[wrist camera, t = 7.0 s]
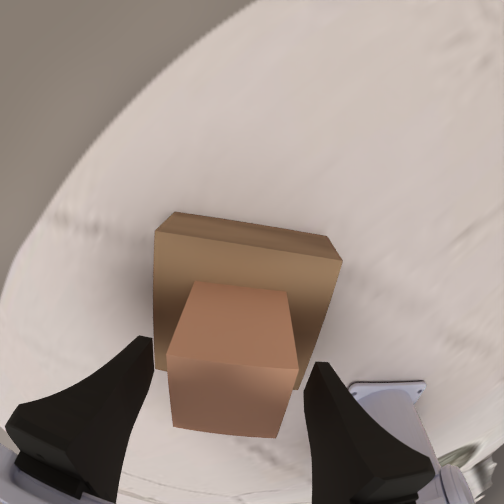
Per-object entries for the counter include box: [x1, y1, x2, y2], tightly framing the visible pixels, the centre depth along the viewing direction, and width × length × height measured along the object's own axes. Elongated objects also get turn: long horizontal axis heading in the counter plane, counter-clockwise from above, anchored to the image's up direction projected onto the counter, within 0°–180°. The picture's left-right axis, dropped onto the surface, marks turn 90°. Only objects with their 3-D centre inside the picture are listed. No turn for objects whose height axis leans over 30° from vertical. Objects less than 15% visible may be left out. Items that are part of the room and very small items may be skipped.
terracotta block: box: [166, 281, 299, 438], centre depth 13 cm, size 4×4×6 cm
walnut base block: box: [153, 212, 343, 390], centre depth 17 cm, size 9×9×4 cm
